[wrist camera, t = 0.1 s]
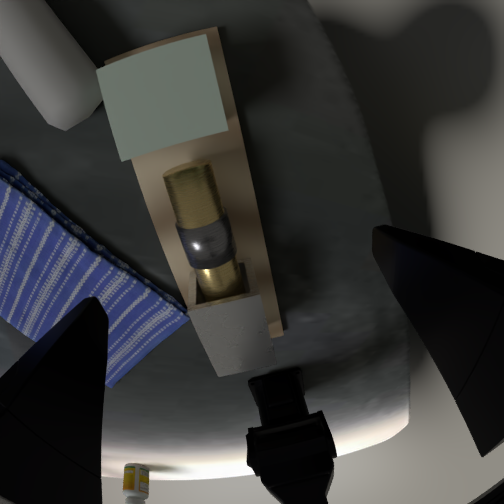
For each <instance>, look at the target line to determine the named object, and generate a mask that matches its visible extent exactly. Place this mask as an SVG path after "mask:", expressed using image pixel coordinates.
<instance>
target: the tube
mask: <svg viewBox="0 0 504 504" xmlns="http://www.w3.org/2000/svg"><path fill="white" fill-rule="evenodd" d="M0 56H1V57H2V59H3V60H4V62H5V63H6V65H7V66H8V68H9V69H10V71H11V72H12V74H13V75H14V77H15V78H16V80H17V81H18V83H19V84H20V85H21V87H22V88H23V90H24V91H25V93H26V94H27V95H28V97H29V98H30V100H31V101H32V102H33V104H34V105H35V106H36V108H37V109H38V111H39V112H40V113H41V115H42V116H43V117H44V119H45V120H46V121H47V123H48V124H50V125H52V126H55V127H57V128H59V129H62V130H64V131H66V130H68V129H69V128H71V127H73V126H75V125H76V124H78V123H80V122H81V121H83V120H85V119H87V118H89V117H90V115H91V114H92V113H93V112H94V110H95V109H96V108H97V106H98V105H99V104H100V103H101V101H102V100H103V97H102V93H101V89H100V85H99V81H98V77H97V73H96V70H97V69H98V68H97V67H96V66H95V65H94V63H93V62H92V61H91V59H90V58H89V57H88V56H87V54H86V53H85V52H84V50H83V49H82V48H81V47H80V45H79V44H78V43H77V41H76V40H75V39H74V38H73V36H72V35H71V34H70V32H69V31H68V30H67V29H66V27H65V26H64V25H63V23H62V22H61V21H60V20H59V18H58V17H57V16H56V14H55V13H54V12H53V10H52V9H51V8H50V7H49V5H48V4H47V3H46V1H45V0H0Z"/></svg>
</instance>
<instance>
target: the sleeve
mask: <svg viewBox="0 0 504 504" xmlns="http://www.w3.org/2000/svg"><path fill="white" fill-rule="evenodd" d="M237 261H238V265H239V268H240V272H241V276H242V279H243V283H244V286H245V290H246V293H245V294H241V295H237V296H233V297H229V298H225V299H220V300H216V301H212V302H207V303H206V300H205V298H204V295H203V293H202V290H201V287H200V285H199V282H198V279H197V277H196V274H195V271H193V272H190V275H189V291H188V309H187V312H188V314H189V316H190V318H191V321H192V323H193V325H194V327H195V329H196V332H197V334H198V336H199V338H200V340H201V342H202V344H203V346H204V349H205V351H206V353H207V355H208V357H209V359H210V361H211V363H212V365H213V367H214V369H215V371H216V373H217V375H218V377H221V376H226V375H231V374H236V373H241V372H246V371H250V370H255V369H259V368H263V367H267V366H271V365H276V364H277V361H276V357H275V353H274V349H273V345H272V341H271V337H270V333H269V329H268V324H267V320H266V316H265V312H264V308H263V304H262V300H261V296H260V292H259V288H258V284H257V280H256V276H255V272H254V268H253V264H252V261H251V257H250V258H246V259H241V260H237Z"/></svg>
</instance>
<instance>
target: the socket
mask: <svg viewBox="0 0 504 504" xmlns="http://www.w3.org/2000/svg"><path fill="white" fill-rule="evenodd" d="M96 73H97V77H98V81H99V85H100V89H101V93H102V97H103V101H104V104H105V108H106V112H107V115H108V119H109V122H110V126H111V129H112V133H113V136H114V139H115V142H116V146H117V149H118V152H119V155H120V158H121V161H125V160H128V159H131V158H134V157H137V156H140V155H143V154H146V153H149V152H152V151H155V150H159V149H162V148H165V147H168V146H172V145H175V144H179V143H182V142H186V141H189V140H193V139H197V138H200V137H204V136H208V135H212V134H216V133H220V132H224V131H229V130H228V126H227V121H226V117H225V113H224V108H223V104H222V100H221V96H220V91H219V87H218V83H217V79H216V74H215V70H214V66H213V62H212V58H211V53H210V49H209V45H208V41H207V36H206V34H204V35H199V36H195V37H191V38H187V39H183V40H180V41H176V42H173V43H169V44H166V45H162V46H159V47H156V48H153V49H150V50H147V51H144V52H141V53H138V54H135V55H132V56H129V57H127V58H124V59H121V60H119V61H116V62H114V63H111V64H109V65H106V66H104V67H102V68H99V69H97V70H96Z"/></svg>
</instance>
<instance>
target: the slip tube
mask: <svg viewBox="0 0 504 504" xmlns="http://www.w3.org/2000/svg"><path fill="white" fill-rule="evenodd" d="M162 177H163V180H164V183H165V187H166V190H167V193H168V196H169V199H170V202H171V205H172V208H173V211H174V214H175V217H176V220H177V221H176V223H175V226H176V229H177V232H178V235H179V238H180V241H181V244H182V246H183V249H184V252H185V255H186V257H187V260H188V263H189V265H190V266H191V267H192V268H194V271H195V274H196V277H197V279H198V282H199V285H200V287H201V290H202V293H203V295H204V298H205V300H206V303H207V302H212V301H216V300H220V299H225V298H229V297H233V296H237V295H241V294H245V293H246V290H245V286H244V283H243V279H242V276H241V272H240V268H239V265H238V261H237V257H236V253H237V246H236V243H235V239H234V235H233V231H232V227H231V224H230V220H229V216H228V212H227V209H226V208H225V207H223V205H222V201H221V197H220V194H219V190H218V186H217V182H216V178H215V174H214V170H213V167H212V163H211V160H208V159H202V160H195V161H191V162H187V163H184V164H181V165H178V166H176V167H173V168H171V169H169V170H167V171H166V172H165V173H163V175H162Z"/></svg>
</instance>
